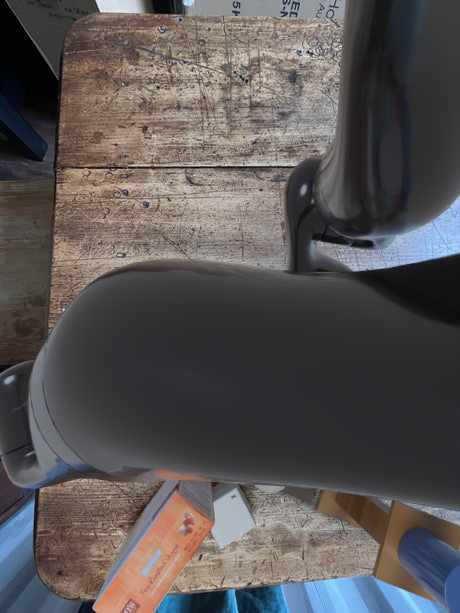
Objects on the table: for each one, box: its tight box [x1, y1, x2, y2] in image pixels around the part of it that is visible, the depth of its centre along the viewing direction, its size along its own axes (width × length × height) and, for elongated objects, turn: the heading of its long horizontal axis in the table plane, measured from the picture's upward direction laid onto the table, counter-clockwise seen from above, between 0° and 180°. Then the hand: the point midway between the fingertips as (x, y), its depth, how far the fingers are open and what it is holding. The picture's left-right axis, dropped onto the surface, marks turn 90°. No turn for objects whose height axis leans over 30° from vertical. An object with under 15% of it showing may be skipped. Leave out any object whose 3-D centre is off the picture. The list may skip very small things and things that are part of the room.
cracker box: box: [92, 480, 215, 613], centre depth 49 cm, size 14×6×21 cm, turn 143°
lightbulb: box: [253, 485, 285, 494], centre depth 56 cm, size 6×6×11 cm
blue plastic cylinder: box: [398, 528, 460, 613], centre depth 36 cm, size 5×5×8 cm
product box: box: [210, 482, 257, 550], centre depth 57 cm, size 6×6×7 cm
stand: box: [315, 490, 460, 605], centre depth 51 cm, size 8×8×22 cm
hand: (274, 438), depth 51 cm, fingers open, 8 cm apart
